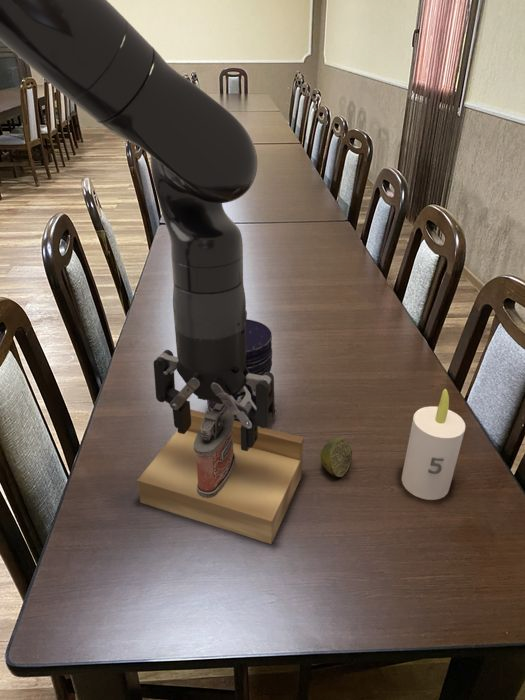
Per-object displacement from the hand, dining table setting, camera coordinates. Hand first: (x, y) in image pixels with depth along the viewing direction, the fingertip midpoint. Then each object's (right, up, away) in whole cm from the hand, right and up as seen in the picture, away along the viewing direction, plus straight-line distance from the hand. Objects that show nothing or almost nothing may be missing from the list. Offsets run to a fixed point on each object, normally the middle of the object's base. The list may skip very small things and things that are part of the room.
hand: (215, 438), depth 65 cm
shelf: (0, -8, +6) cm, 10 cm away
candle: (+28, -8, +8) cm, 30 cm away
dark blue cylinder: (+2, 0, +20) cm, 20 cm away
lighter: (0, -5, +3) cm, 6 cm away
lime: (+16, -6, +10) cm, 20 cm away
